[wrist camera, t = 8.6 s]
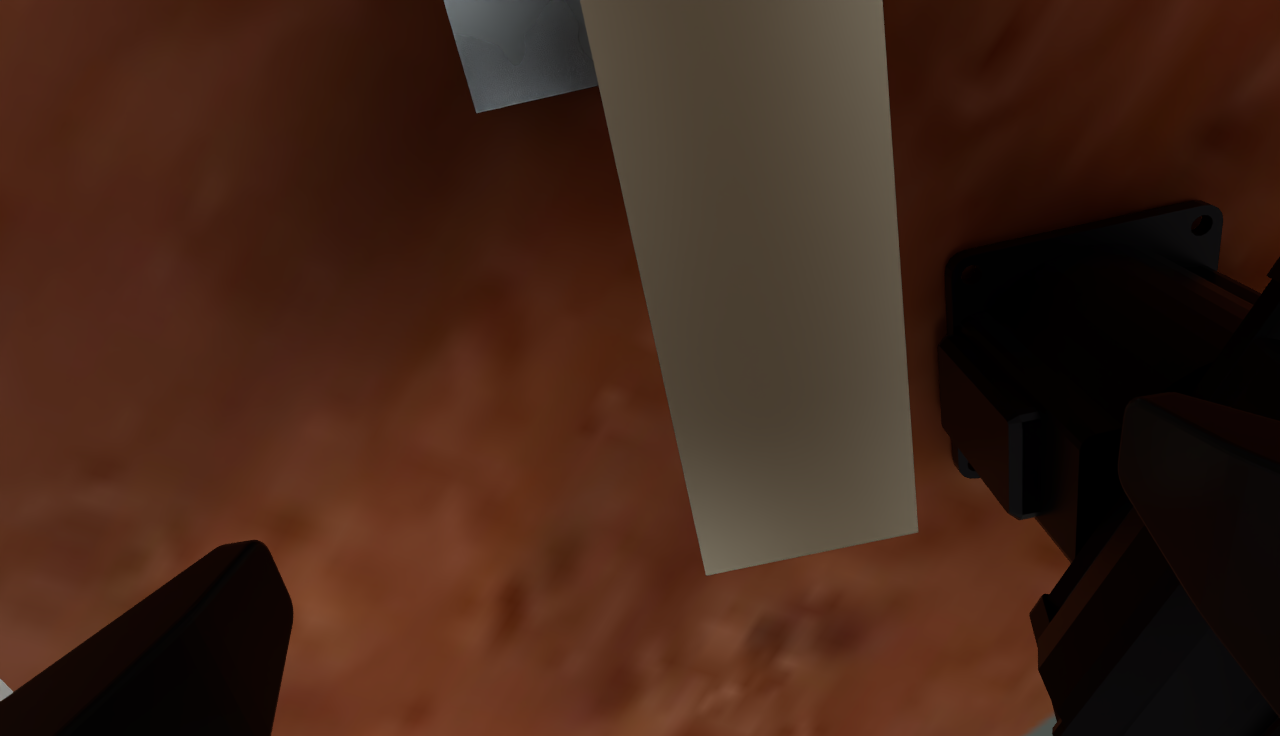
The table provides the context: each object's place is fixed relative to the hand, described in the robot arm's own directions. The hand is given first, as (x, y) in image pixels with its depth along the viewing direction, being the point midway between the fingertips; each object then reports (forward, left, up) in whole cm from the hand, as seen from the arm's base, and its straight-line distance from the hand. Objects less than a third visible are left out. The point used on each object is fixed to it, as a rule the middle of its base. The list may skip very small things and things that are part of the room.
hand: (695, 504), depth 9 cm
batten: (-1, -7, -6) cm, 9 cm away
